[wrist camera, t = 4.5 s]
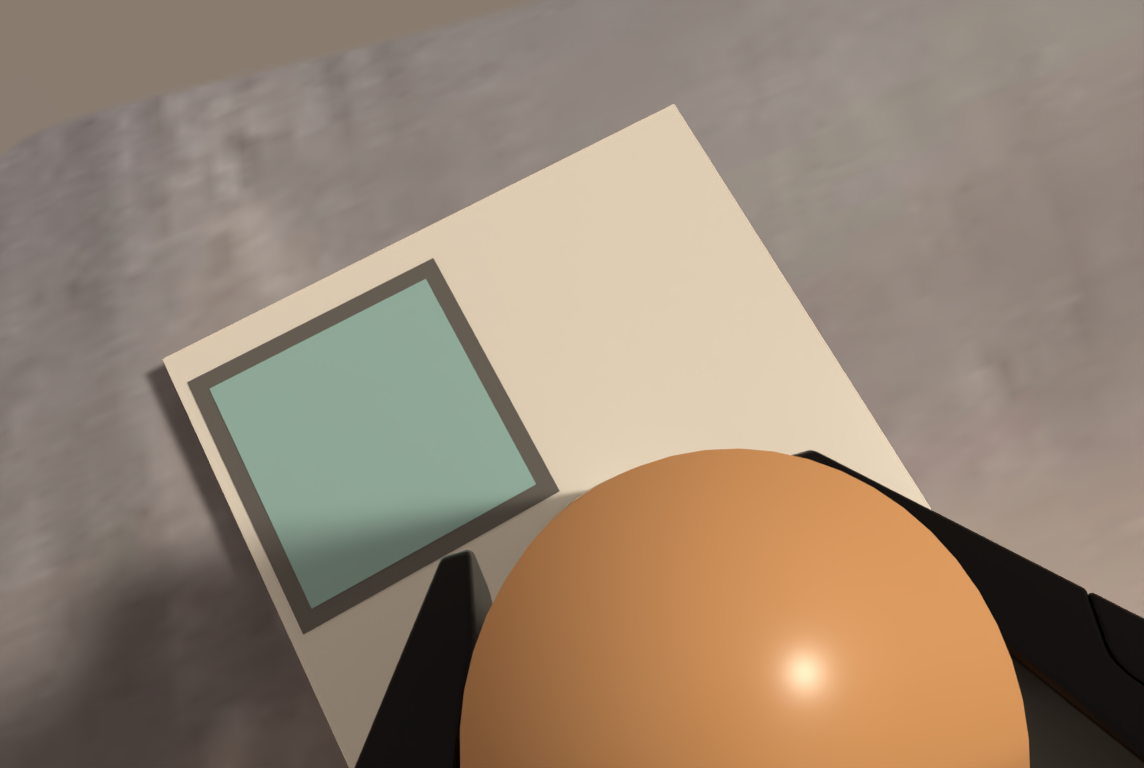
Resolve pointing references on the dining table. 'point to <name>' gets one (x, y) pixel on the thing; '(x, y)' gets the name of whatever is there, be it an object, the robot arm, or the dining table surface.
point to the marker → (739, 631)
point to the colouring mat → (503, 391)
